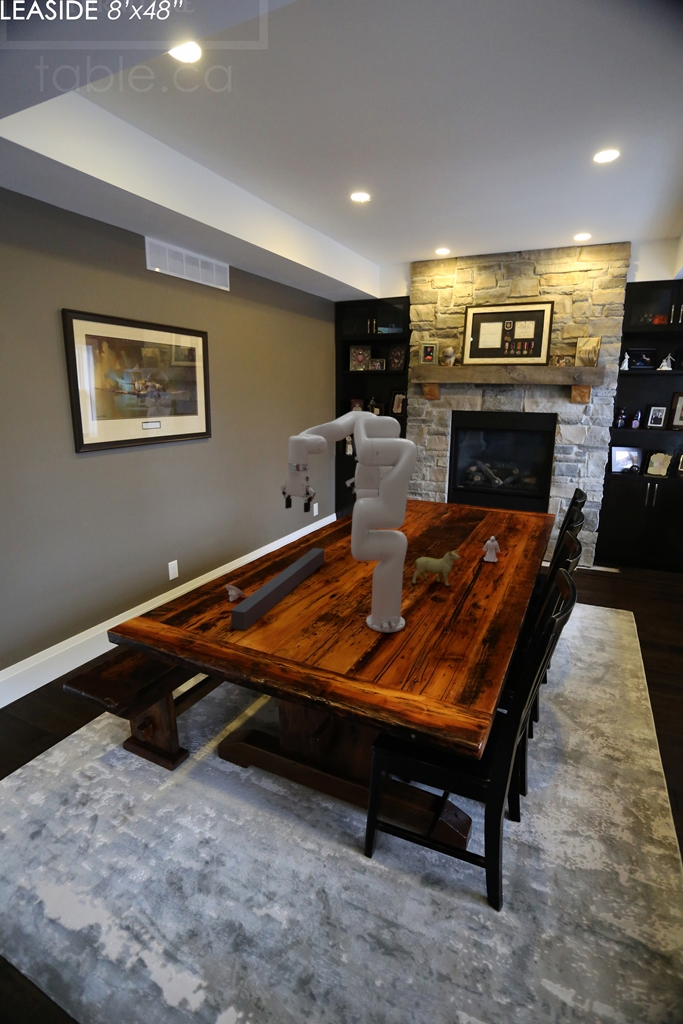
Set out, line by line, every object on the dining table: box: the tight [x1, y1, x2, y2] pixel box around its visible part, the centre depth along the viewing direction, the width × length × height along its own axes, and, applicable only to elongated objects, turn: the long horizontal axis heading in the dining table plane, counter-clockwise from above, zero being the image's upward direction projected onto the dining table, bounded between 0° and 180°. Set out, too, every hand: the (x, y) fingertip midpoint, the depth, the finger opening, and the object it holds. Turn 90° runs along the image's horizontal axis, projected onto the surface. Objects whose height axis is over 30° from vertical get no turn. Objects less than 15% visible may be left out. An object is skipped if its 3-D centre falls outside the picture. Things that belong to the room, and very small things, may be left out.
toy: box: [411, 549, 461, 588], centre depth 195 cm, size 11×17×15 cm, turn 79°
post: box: [230, 547, 325, 631], centre depth 188 cm, size 68×5×6 cm, turn 160°
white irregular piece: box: [224, 584, 247, 602], centre depth 178 cm, size 8×5×8 cm
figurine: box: [482, 535, 501, 563], centre depth 223 cm, size 8×8×12 cm
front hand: (367, 502), depth 198 cm, fingers open, 9 cm apart
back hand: (297, 510), depth 200 cm, fingers open, 9 cm apart
